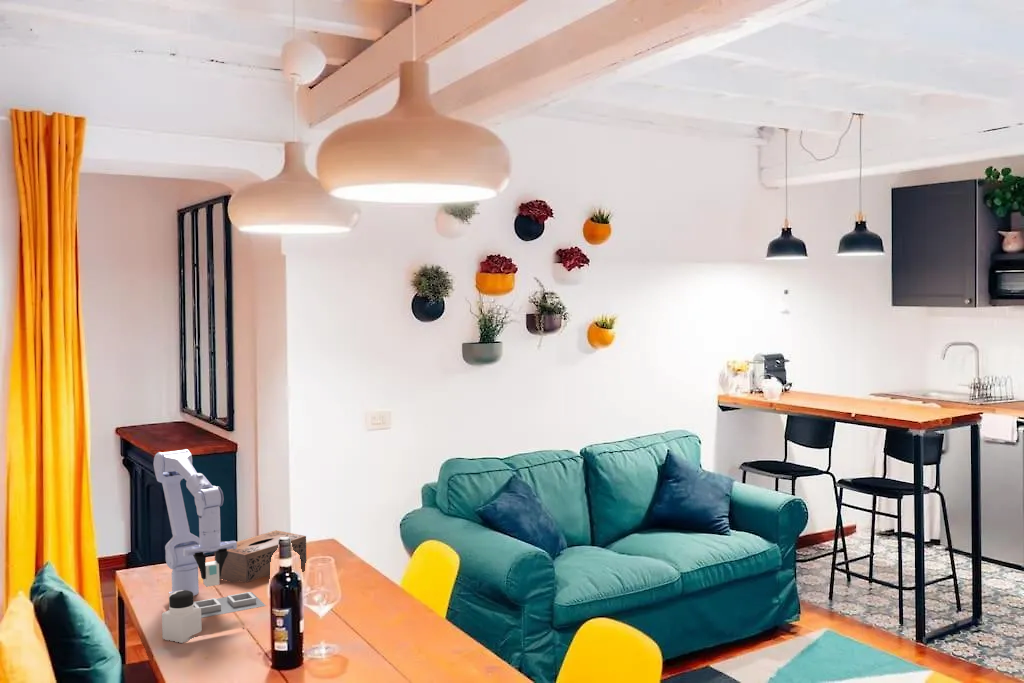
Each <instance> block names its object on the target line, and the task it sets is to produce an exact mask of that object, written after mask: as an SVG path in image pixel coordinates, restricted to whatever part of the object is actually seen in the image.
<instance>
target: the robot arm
mask: <svg viewBox="0 0 1024 683" xmlns="http://www.w3.org/2000/svg"><path fill="white" fill-rule="evenodd" d="M153 469H154V470H153V471H154V475H155V478H156V481H157V482H158V483H161V485H162V488H163V493H164V499H165V504H166V509H167V513H168V514H167V515H168V519H169V524H170V529H171V534H172V537H171V538H170V540H168V542H167V543H166V544H165V545H164V550H165V562H166V563H165V564H167V567H168V568H169V569H170V570H171V591H169V592H168V594H172V593H174V592H176V591H180V590H188V591H191V592H192V593H193V597H194V596H196V595H198V594H199V593H200V592H199V591H200V589H199V588H200V587H199V572H200V576H201V579H202V580H203V579H206V573H205V562H207V561H206V559H207V557H206V556H205V554H206V553H214V555H215V554H216V562H217V563H219V577H220V576H221V571H222V567H223V564H224V561H225V559H226V557H227V555H228V551H227V549H237V541H236V540H230V541H222V540H221V508H220V507H222V506H223V504H224V492H223V490H222V489H221V486H218V485H217V486H216V485H212V483H211V482H210V481H209V479H207V477H206V476H205V475H204V474H203V473H201V472H197V470H196V469H195V467H194V466H193V456H192V453H191V452H190V450H189V449H187V448H184V449H179V450H170V451H164V452H160V451H159V452H156V454H155V455H154V457H153ZM183 479H184V480H185V481H186V482H185V485H186V489H188V491H189V492H190V494H191V495H192V496H193V497H194V505H195V506H196V513H197V516H198V532H199V534H198V535H199V536H197V535H195V534H193V533H191V532H190V530H191V529H190V525H189V521H188V517H187V512H186V511H187V510H186V507H185V502H184V496H183V492H182V488H181V481H183Z"/></svg>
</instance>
